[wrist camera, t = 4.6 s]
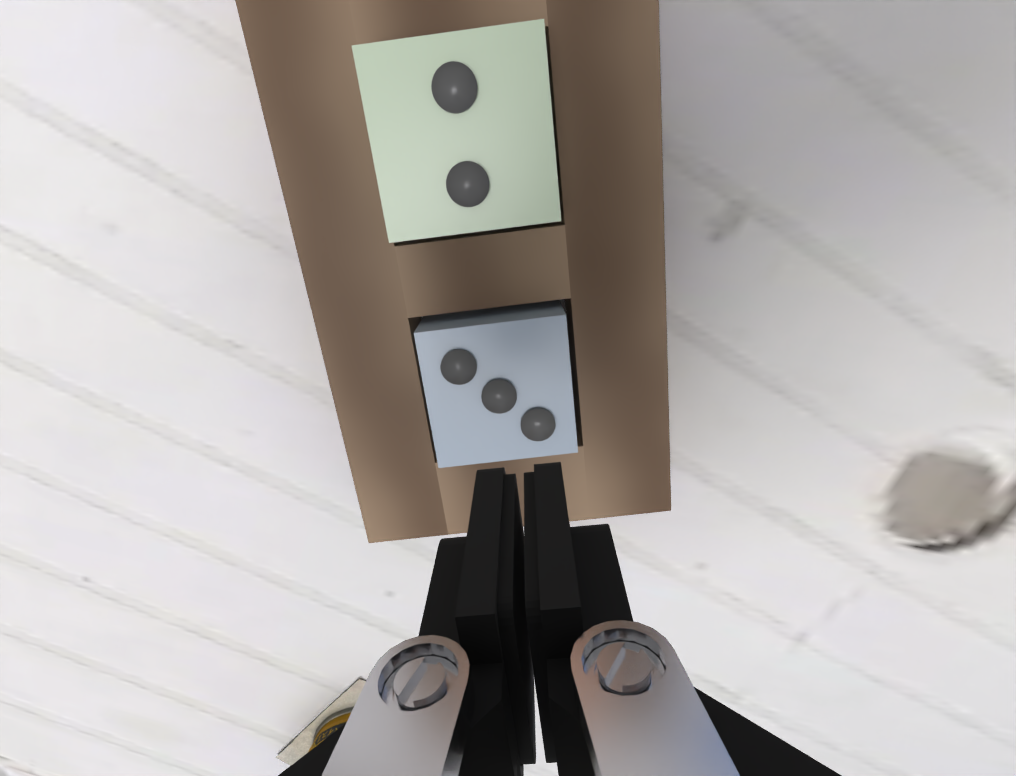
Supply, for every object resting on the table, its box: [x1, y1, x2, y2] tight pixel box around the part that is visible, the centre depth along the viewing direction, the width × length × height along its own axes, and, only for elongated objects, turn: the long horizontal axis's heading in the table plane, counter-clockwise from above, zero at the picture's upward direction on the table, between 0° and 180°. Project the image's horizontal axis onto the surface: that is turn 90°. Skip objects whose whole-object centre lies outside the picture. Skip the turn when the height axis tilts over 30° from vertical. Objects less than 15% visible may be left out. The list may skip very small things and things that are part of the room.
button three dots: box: [414, 300, 578, 468], centre depth 20 cm, size 5×5×3 cm
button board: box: [235, 0, 671, 543], centre depth 18 cm, size 12×28×2 cm, turn 7°
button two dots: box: [352, 19, 561, 243], centre depth 17 cm, size 5×5×3 cm
